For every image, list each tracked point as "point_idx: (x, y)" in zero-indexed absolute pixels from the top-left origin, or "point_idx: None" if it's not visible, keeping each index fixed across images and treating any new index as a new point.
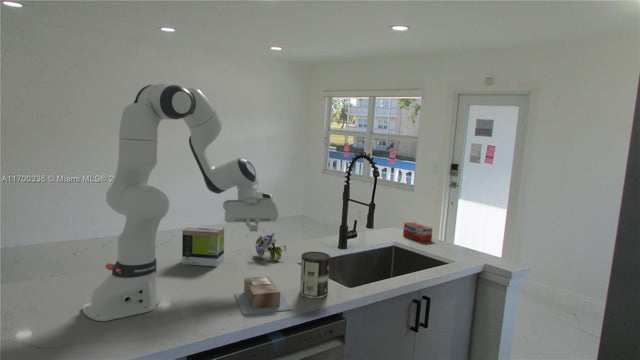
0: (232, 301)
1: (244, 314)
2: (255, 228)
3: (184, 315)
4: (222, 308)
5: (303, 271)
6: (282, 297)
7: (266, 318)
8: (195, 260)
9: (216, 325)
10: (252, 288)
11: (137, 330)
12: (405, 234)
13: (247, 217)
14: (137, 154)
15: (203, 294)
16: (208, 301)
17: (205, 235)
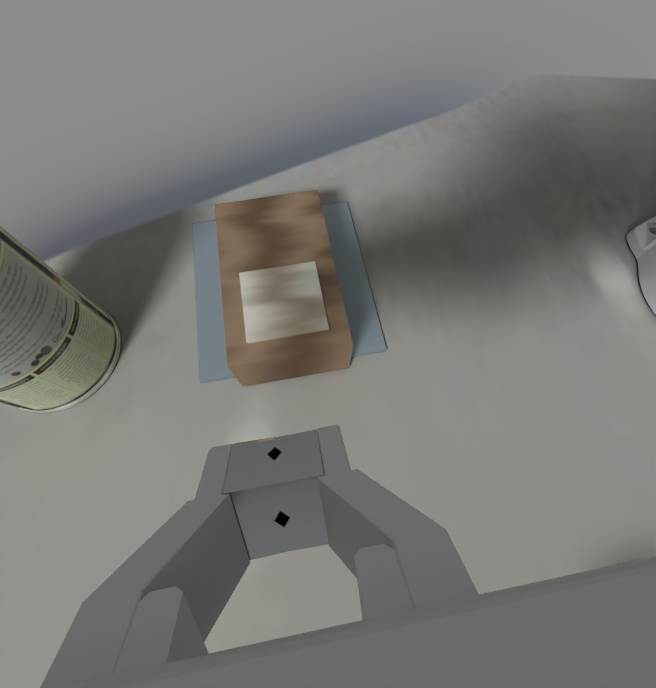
0: (388, 292)
1: (344, 202)
2: (250, 443)
3: (518, 208)
4: (415, 244)
5: (48, 276)
6: (202, 309)
7: (281, 184)
8: None
9: (416, 158)
10: (318, 234)
11: (603, 146)
12: None
13: (458, 599)
14: None
15: (508, 356)
16: (473, 295)
17: None
